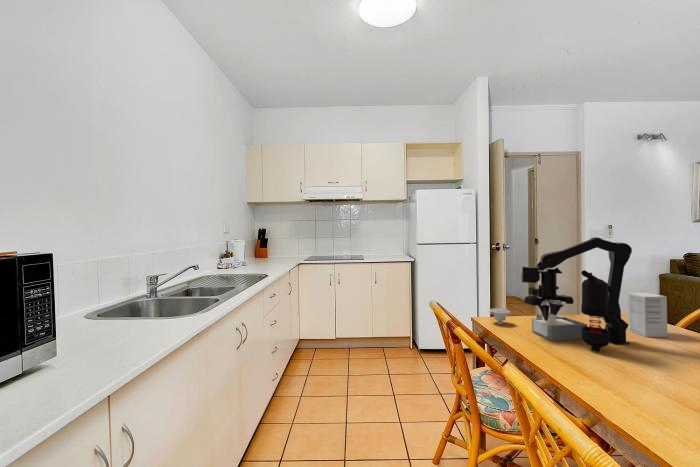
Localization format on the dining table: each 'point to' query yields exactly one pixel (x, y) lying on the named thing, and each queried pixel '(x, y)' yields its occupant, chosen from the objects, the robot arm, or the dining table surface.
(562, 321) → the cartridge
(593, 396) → the dining table surface
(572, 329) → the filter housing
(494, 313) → the showerhead
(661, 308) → the supplement box
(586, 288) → the black tall rounded body
